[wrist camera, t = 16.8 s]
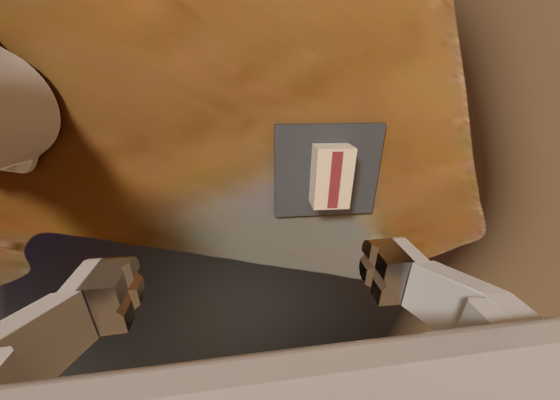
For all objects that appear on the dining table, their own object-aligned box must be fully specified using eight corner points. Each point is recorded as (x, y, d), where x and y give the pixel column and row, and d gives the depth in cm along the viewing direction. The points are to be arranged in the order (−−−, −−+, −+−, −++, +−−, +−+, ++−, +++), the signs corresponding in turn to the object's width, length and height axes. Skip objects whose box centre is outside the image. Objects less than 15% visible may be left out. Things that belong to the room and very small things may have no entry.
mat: (274, 215, 48) (275, 217, 48) (274, 124, 42) (274, 124, 41) (370, 210, 50) (372, 212, 50) (384, 123, 44) (386, 123, 43)
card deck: (312, 143, 43) (318, 149, 39) (348, 143, 44) (358, 149, 40) (308, 200, 47) (314, 210, 43) (341, 199, 48) (349, 209, 44)
